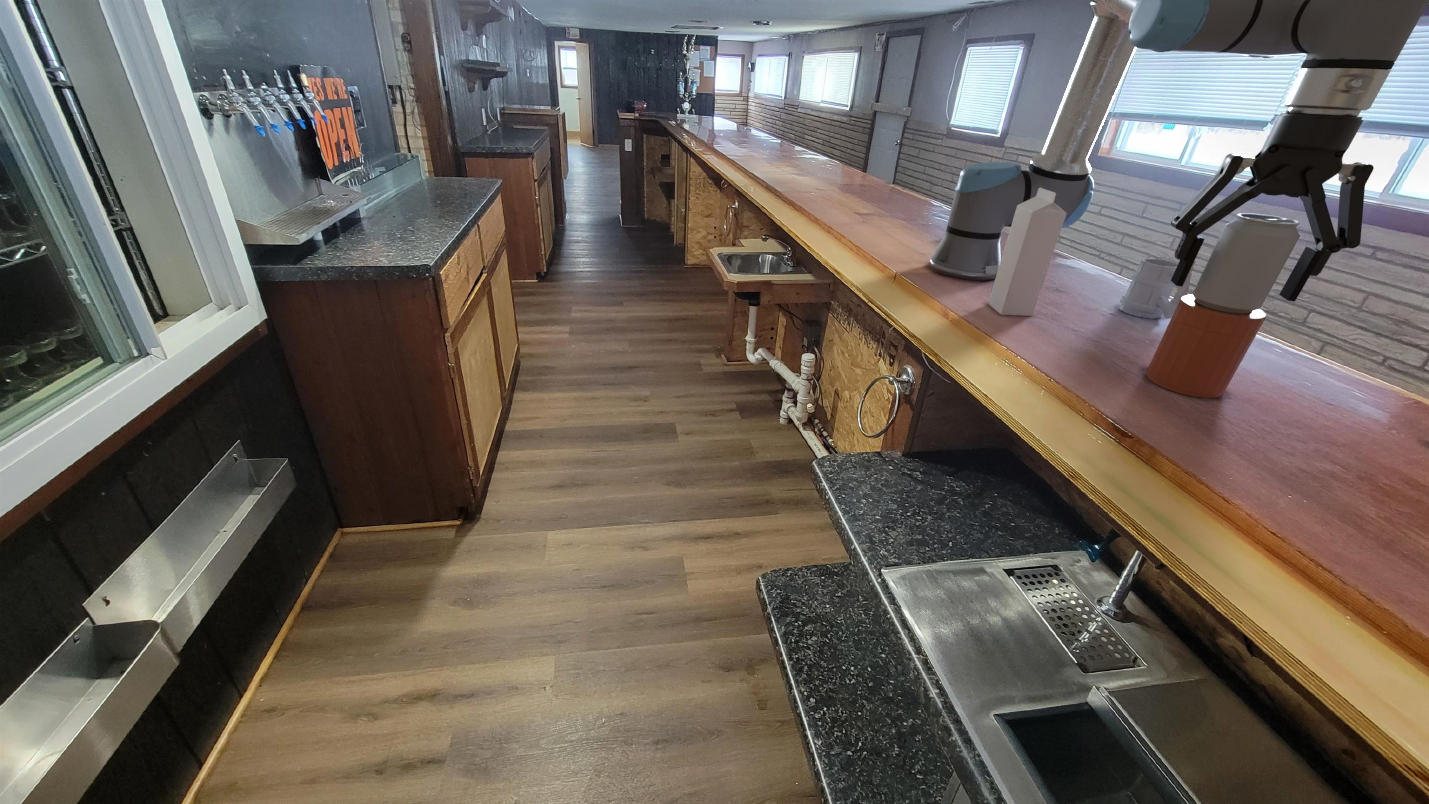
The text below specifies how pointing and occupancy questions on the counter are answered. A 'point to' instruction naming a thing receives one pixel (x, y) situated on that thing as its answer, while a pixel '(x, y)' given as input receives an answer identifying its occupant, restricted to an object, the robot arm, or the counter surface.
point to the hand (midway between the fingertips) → (1230, 290)
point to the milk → (1027, 254)
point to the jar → (1202, 348)
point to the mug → (1153, 290)
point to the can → (1246, 262)
